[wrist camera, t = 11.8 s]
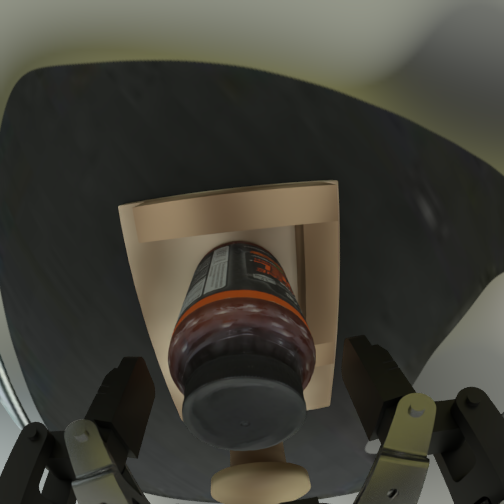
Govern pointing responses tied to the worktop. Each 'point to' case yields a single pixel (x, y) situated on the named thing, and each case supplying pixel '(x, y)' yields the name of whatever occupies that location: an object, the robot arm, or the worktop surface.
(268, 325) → the supplement bottle
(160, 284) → the notched board
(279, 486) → the bobbin post
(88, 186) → the worktop surface
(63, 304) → the worktop surface
